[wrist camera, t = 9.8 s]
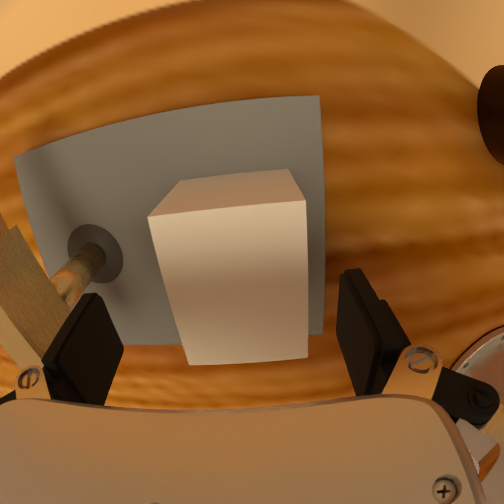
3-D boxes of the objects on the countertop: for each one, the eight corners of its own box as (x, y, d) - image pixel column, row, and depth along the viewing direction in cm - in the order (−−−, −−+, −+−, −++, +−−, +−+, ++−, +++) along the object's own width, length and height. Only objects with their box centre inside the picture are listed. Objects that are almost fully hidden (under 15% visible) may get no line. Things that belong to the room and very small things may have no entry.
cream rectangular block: (294, 291, 20) (307, 357, 15) (203, 299, 20) (189, 365, 15) (288, 168, 16) (305, 200, 11) (180, 180, 17) (147, 217, 11)
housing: (318, 317, 24) (323, 334, 22) (88, 328, 24) (79, 343, 23) (312, 96, 16) (319, 95, 15) (29, 151, 17) (12, 157, 15)
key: (40, 123, 15) (-72, 156, 6) (139, 304, 20) (92, 411, 12) (19, 143, 15) (-86, 184, 7) (114, 313, 21) (64, 412, 12)
